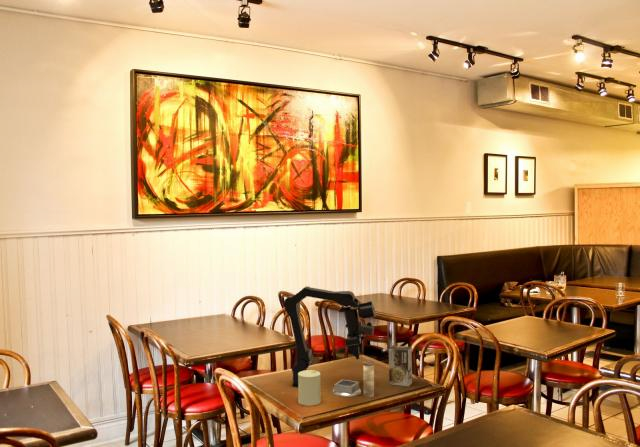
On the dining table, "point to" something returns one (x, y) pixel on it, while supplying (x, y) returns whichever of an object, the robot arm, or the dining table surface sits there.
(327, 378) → the dining table surface
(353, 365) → the dining table surface
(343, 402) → the dining table surface
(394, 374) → the coffee box
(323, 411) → the dining table surface
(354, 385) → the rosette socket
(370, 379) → the cream tall cylinder
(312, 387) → the can
